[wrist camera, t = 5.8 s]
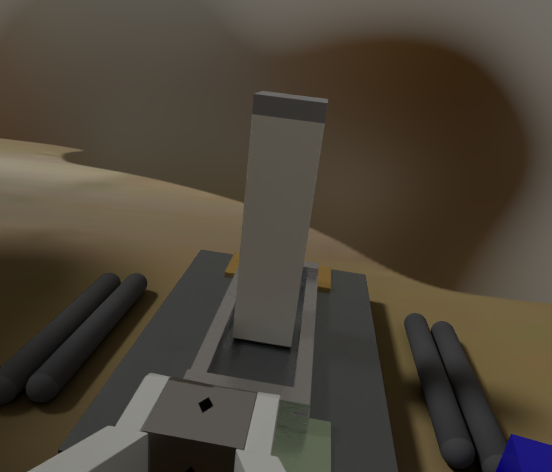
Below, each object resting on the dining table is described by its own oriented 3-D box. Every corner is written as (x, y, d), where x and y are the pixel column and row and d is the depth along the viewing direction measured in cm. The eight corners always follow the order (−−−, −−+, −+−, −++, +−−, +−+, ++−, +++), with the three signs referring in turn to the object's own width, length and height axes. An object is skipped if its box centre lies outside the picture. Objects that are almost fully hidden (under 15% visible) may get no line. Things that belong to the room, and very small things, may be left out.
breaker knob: (291, 347, 22) (327, 103, 17) (232, 337, 22) (254, 93, 18) (294, 321, 24) (328, 99, 20) (241, 312, 24) (262, 90, 20)
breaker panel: (392, 554, 15) (415, 483, 14) (62, 490, 16) (55, 416, 15) (360, 299, 32) (369, 255, 30) (199, 274, 33) (202, 230, 31)
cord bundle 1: (43, 420, 19) (40, 395, 18) (-23, 408, 19) (-28, 382, 18) (150, 289, 30) (150, 271, 29) (108, 283, 30) (107, 264, 29)
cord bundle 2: (517, 497, 18) (529, 472, 17) (443, 483, 18) (452, 459, 17) (446, 332, 29) (451, 314, 28) (400, 325, 29) (405, 307, 28)
